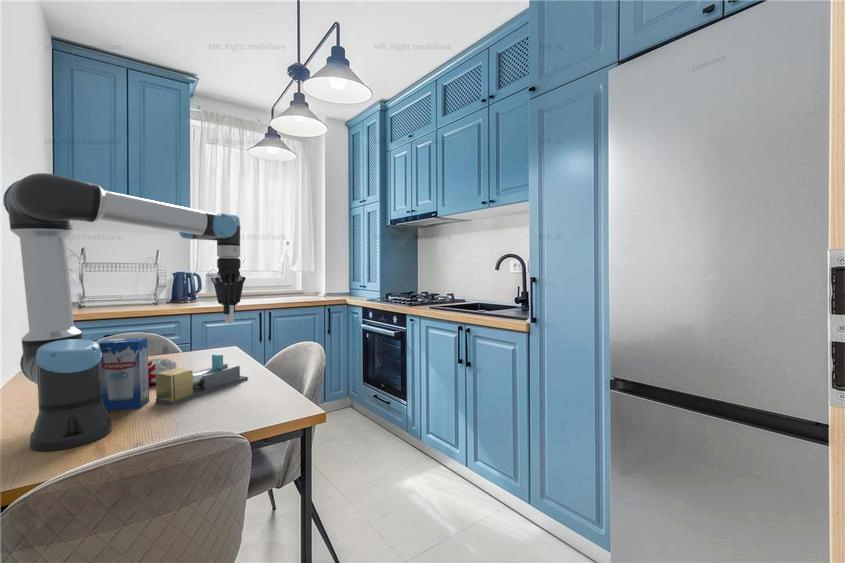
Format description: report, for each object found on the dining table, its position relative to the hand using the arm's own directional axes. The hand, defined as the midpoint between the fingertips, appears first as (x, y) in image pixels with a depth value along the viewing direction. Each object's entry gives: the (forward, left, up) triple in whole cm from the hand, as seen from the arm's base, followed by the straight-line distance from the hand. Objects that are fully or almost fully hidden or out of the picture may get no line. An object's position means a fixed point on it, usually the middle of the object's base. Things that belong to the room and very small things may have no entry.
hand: (229, 323), depth 141 cm
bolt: (-12, +4, -19) cm, 23 cm away
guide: (-11, +4, -20) cm, 24 cm away
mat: (-9, +3, -21) cm, 23 cm away
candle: (-5, +27, -22) cm, 35 cm away
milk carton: (-26, +18, -22) cm, 38 cm away
